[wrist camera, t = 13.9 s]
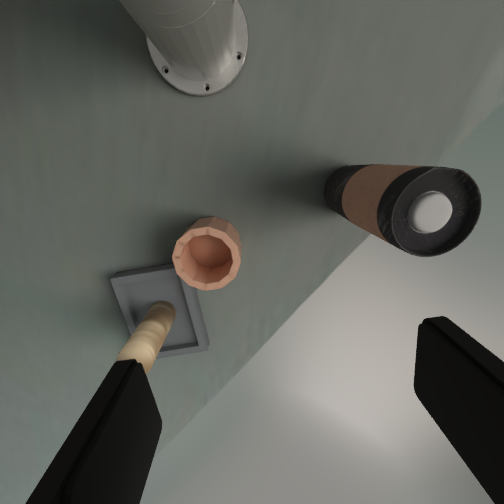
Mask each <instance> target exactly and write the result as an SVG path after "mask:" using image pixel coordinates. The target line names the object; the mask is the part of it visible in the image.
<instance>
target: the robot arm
mask: <svg viewBox="0 0 504 504" xmlns="http://www.w3.org/2000/svg"><path fill="white" fill-rule="evenodd" d="M119 1H120V2H121V4H122V5H123V6H124V8H125V9H126V10H127V11H128V13H129V14H130V15H131V17H132V18H133V19H134V20H135V22H136V23H137V24H138V25H139V27H140V28H141V29H142V31H143V32H144V33H145V34H146V40H147V46H148V49H149V52H150V55H151V58H152V60H153V62H154V64H155V66H156V68H157V69H158V71H159V72H160V73H161V75H162V76H163V77H164V78H165V79H166V80H167V81H168V82H169V83H170V84H171V85H172V86H174V87H175V88H176V89H178V90H180V91H182V92H184V93H186V94H190V95H193V96H209V95H213V94H216V93H219V92H221V91H222V90H224V89H225V88H227V87H228V86H229V85H230V84H231V83H232V82H233V81H234V80H235V79H236V77H237V76H238V74H239V73H240V71H241V69H242V67H243V65H244V62H245V58H246V54H247V45H248V32H247V25H246V20H245V17H244V14H243V10H242V8H241V6H240V4H239V2H238V0H119ZM238 56H240V57H241V59H240V60H238V59H237V57H238ZM166 70H169V72H168V73H165V71H166ZM206 87H209V90H208V91H207V90H206ZM414 390H415V393H416V395H417V397H418V399H419V400H420V401H421V403H422V404H423V406H424V407H425V408H426V410H427V411H428V412H429V414H430V415H431V417H432V418H433V419H434V421H435V422H436V423H437V425H438V426H439V427H440V429H441V430H442V432H443V433H444V434H445V436H446V437H447V438H448V440H449V441H450V443H451V444H452V445H453V447H454V448H455V450H456V451H457V452H458V454H459V455H460V456H461V458H462V459H463V461H464V462H465V463H466V464H467V466H468V467H469V469H470V470H471V472H472V473H473V474H474V476H475V477H476V478H477V480H478V481H479V483H480V484H481V485H482V487H483V488H484V489H485V491H486V492H487V494H488V495H489V496H490V498H491V499H492V501H493V502H494V503H495V504H504V362H503V361H502V360H500V359H499V358H498V357H497V356H495V355H494V354H493V353H492V352H490V351H489V350H487V349H486V348H485V347H484V346H482V345H481V344H480V343H479V342H477V341H476V340H475V339H474V338H472V337H471V336H470V335H469V334H467V333H466V332H465V331H463V330H462V329H461V328H460V327H458V326H457V325H456V324H454V323H453V322H452V321H451V320H449V319H448V318H447V317H444V316H440V317H433V318H426V319H424V320H423V322H422V324H420V325H419V326H418V337H417V349H416V362H415V376H414ZM161 430H162V419H161V416H160V413H159V411H158V408H157V405H156V402H155V399H154V396H153V393H152V391H151V388H150V385H149V382H148V379H147V376H146V374H145V371H144V368H143V365H142V363H140V362H139V363H138V362H137V360H136V359H128V360H120V361H116V362H115V363H114V364H113V366H112V368H111V369H110V371H109V372H108V374H107V375H106V377H105V379H104V380H103V382H102V383H101V385H100V387H99V388H98V390H97V391H96V393H95V394H94V396H93V398H92V399H91V401H90V402H89V404H88V405H87V407H86V409H85V410H84V412H83V413H82V415H81V417H80V418H79V420H78V421H77V423H76V424H75V426H74V428H73V429H72V431H71V432H70V434H69V436H68V437H67V439H66V440H65V442H64V443H63V445H62V447H61V448H60V450H59V451H58V453H57V455H56V456H55V458H54V459H53V461H52V462H51V464H50V466H49V467H48V469H47V470H46V472H45V473H44V475H43V477H42V478H41V480H40V481H39V483H38V485H37V486H36V488H35V489H34V491H33V492H32V494H31V496H30V497H29V499H28V500H27V502H26V504H139V503H140V500H141V497H142V493H143V490H144V487H145V484H146V480H147V477H148V473H149V470H150V467H151V463H152V460H153V457H154V454H155V450H156V447H157V444H158V441H159V437H160V434H161Z"/></svg>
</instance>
